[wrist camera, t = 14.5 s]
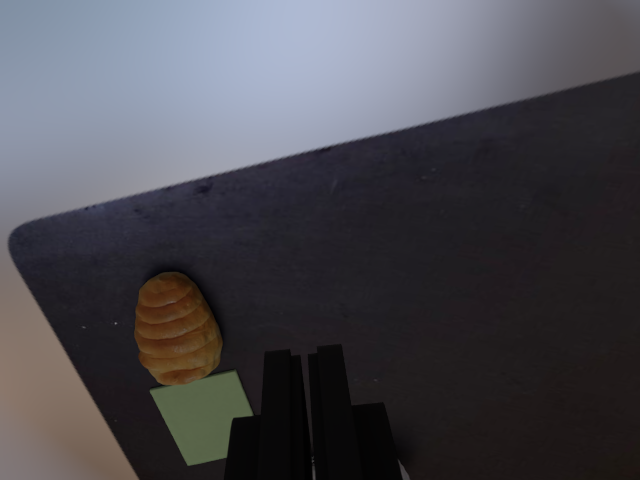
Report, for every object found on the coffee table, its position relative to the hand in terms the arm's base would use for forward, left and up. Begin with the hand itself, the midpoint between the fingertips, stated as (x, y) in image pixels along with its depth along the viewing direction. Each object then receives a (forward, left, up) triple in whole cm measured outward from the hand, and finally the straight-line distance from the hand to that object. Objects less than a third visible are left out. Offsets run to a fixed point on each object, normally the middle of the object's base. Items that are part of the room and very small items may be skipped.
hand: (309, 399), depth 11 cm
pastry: (+17, +9, -27) cm, 34 cm away
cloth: (+21, +20, -27) cm, 40 cm away
